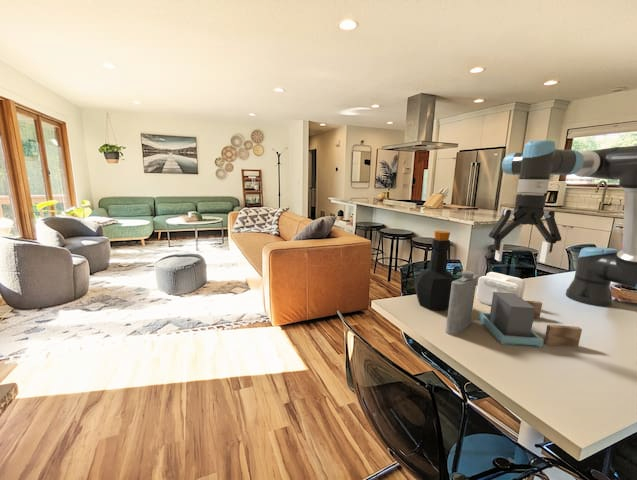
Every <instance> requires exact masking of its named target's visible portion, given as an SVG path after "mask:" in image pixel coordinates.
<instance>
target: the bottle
mask: <svg viewBox="0 0 637 480" xmlns="http://www.w3.org/2000/svg"><path fill="white" fill-rule="evenodd" d="M450 235H451V231H449V230H448V231H445V230H434V238H433V239H432V241H431V242H432V243H431V247H432V248H433V249H432V253H431V256H430V265H429V269H426V270H424V271H421V272H420V273H419V274H418V275H417V277H415V279H414V283H413V284H414V285H413V286H414V291H415V293H416V298H417V302H418V304H419V306H420V307H423V308H425V309H427V310H431V311H437V312H438V311H439V312H444V311H446V310H447V311H448V309H449V301H450V293H451V285H452V281H455V280H456V279H455V277H454V276H453V274H452V272H450V271H448V270H447V266H448V249H450V247H451V240H450Z"/></svg>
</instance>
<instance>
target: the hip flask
mask: <svg viewBox="0 0 637 480" xmlns="http://www.w3.org/2000/svg"><path fill="white" fill-rule="evenodd" d="M461 274H462V275H461V277H460V278H458V279H455V281H452V285H451V293H450V301H449V309H447V319H446V327H445V333H446V334H447V335H448V336H456V335H458V334H460V333H462V332H463V331H464V332H465V330H466V329H467V328H468V327H469V326H470V325H471V322H472V316H473V309H474V302H475V301H474V300H475V296H476V290H477V283H478V281H477V279H478V274H476V273H475V272H474V271H472V270H471V271H470V270H462V271H461Z"/></svg>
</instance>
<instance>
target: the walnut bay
mask: <svg viewBox="0 0 637 480" xmlns="http://www.w3.org/2000/svg"><path fill="white" fill-rule="evenodd" d="M525 301H526V302H528V303H529V304H530V305H532V306H533V307H535V313H534V318H533V319H540V317H541V312H542V307H543V302H541V301H535V300H525ZM582 330H583V329H582V328H581V327H580V326H573V325H572V326H569V325H559V324H547V325H546V330H545V335H544V339H543V340H544V341H543V344H546V345H550V346H557V347H558V346H561V347H570V348H571V347H573V348H579V344H580V340H581V335H582V332H583V331H582Z"/></svg>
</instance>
